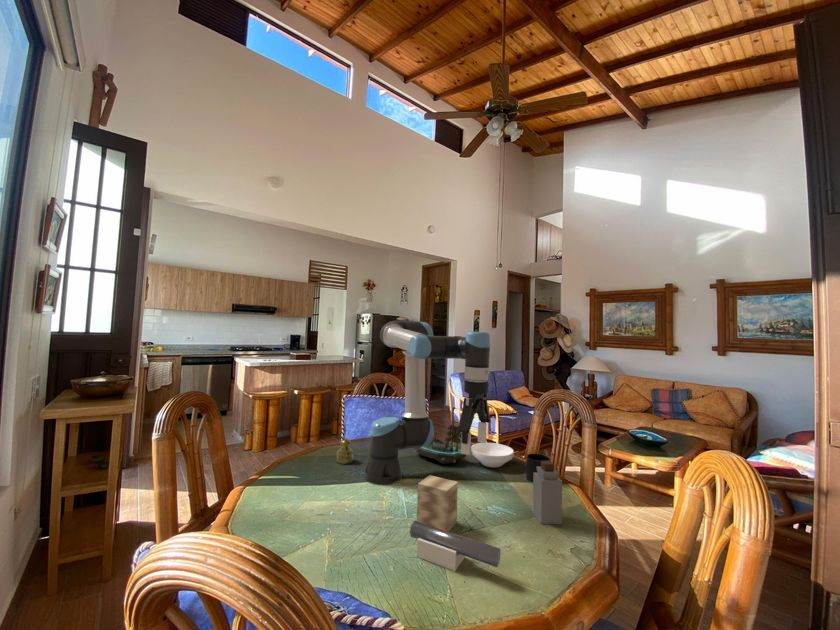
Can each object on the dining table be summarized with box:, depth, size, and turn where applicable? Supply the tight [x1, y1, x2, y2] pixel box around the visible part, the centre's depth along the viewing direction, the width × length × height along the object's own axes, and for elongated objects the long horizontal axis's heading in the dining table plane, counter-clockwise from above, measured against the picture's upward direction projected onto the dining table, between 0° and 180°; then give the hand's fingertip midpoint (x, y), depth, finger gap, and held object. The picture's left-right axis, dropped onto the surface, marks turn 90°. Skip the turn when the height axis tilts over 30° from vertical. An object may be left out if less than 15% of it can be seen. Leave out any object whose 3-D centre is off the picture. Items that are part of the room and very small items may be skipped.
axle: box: [409, 520, 502, 568], centre depth 94 cm, size 24×4×4 cm, turn 60°
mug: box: [525, 453, 551, 483], centre depth 149 cm, size 9×12×9 cm
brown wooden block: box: [416, 474, 459, 532], centre depth 112 cm, size 10×8×12 cm
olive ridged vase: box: [336, 438, 354, 465], centre depth 164 cm, size 7×7×10 cm
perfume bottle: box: [532, 460, 563, 525], centre depth 118 cm, size 7×7×18 cm
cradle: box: [416, 538, 466, 572], centre depth 95 cm, size 11×7×4 cm, turn 61°
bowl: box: [470, 442, 515, 468], centre depth 166 cm, size 20×20×7 cm
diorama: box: [414, 422, 467, 465], centre depth 173 cm, size 19×25×19 cm
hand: (474, 448), depth 113 cm, fingers open, 13 cm apart
